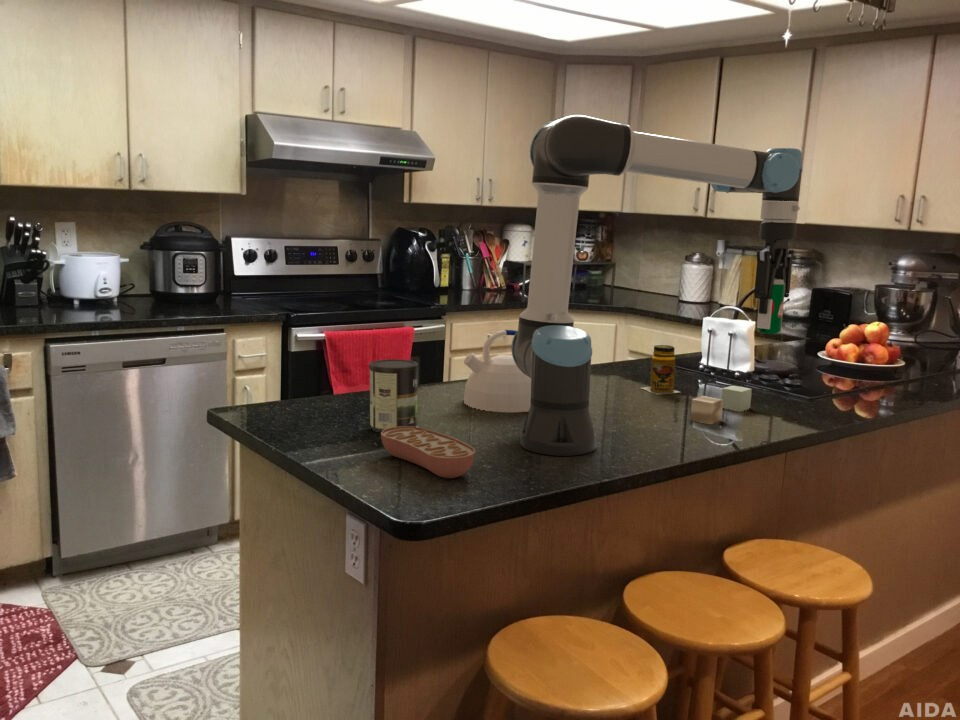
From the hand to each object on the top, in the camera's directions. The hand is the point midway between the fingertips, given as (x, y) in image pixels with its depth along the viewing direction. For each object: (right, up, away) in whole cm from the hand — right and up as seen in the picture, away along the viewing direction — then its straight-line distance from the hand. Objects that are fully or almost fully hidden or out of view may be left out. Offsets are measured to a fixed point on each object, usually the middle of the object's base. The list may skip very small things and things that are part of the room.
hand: (769, 326), depth 187 cm
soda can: (0, -1, 0) cm, 1 cm away
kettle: (-59, -18, +17) cm, 64 cm away
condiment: (-17, -16, +34) cm, 41 cm away
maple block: (-13, -21, +4) cm, 25 cm away
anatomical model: (-74, -27, -33) cm, 85 cm away
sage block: (-3, -19, +16) cm, 25 cm away
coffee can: (-83, -22, -8) cm, 86 cm away
